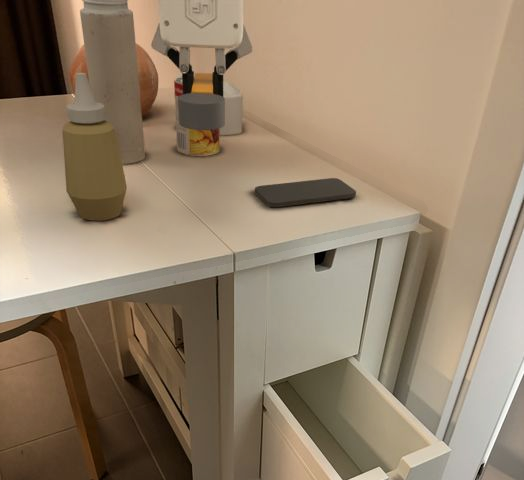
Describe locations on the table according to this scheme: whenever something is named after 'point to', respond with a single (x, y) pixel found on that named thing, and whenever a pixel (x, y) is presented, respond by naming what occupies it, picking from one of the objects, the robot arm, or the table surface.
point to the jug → (145, 74)
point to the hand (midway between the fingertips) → (203, 103)
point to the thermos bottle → (115, 71)
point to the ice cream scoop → (201, 105)
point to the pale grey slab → (232, 110)
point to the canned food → (194, 133)
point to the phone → (304, 192)
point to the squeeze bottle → (92, 157)
